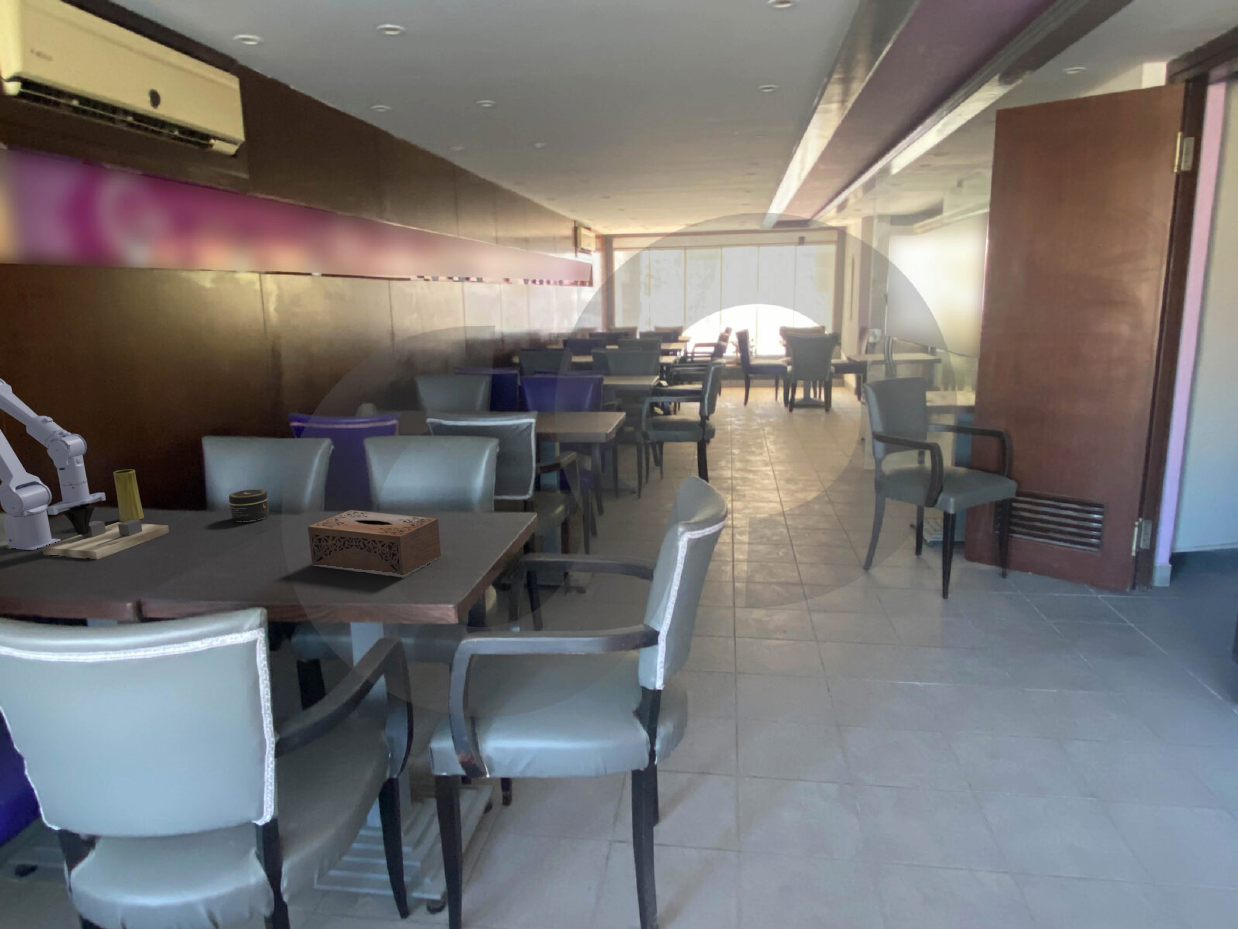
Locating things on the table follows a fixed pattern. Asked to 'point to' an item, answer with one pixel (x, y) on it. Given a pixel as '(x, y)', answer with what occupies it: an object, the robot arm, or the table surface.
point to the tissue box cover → (375, 541)
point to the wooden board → (103, 542)
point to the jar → (249, 505)
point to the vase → (128, 495)
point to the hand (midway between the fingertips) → (82, 534)
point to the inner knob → (95, 529)
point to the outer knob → (130, 527)
